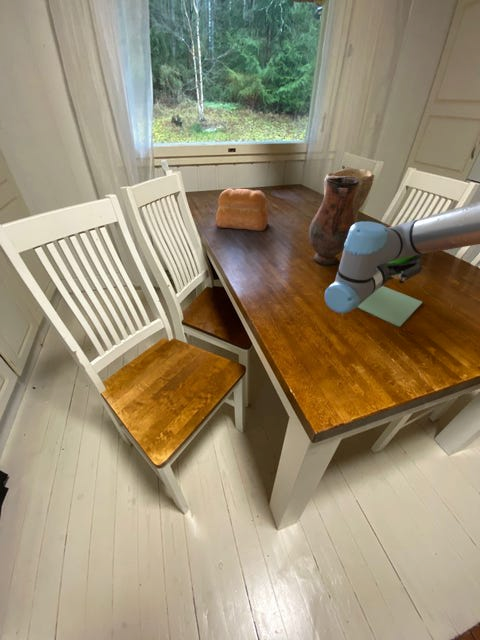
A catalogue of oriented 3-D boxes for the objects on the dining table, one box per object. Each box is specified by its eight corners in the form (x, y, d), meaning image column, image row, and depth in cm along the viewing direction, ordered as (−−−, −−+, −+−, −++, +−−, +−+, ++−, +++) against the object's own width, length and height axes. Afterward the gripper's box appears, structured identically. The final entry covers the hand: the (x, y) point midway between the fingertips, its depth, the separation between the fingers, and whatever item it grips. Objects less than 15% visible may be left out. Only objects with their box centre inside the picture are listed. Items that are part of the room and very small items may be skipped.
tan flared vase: (323, 214, 158) (332, 165, 142) (363, 220, 150) (378, 169, 134) (311, 226, 142) (321, 172, 127) (356, 234, 134) (372, 178, 118)
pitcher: (344, 252, 118) (364, 175, 99) (347, 276, 101) (373, 190, 83) (305, 248, 120) (318, 173, 102) (302, 271, 104) (317, 186, 85)
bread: (221, 218, 151) (220, 184, 140) (268, 221, 147) (271, 187, 136) (213, 228, 139) (212, 192, 128) (264, 232, 135) (267, 195, 124)
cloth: (422, 303, 88) (422, 301, 88) (399, 327, 79) (400, 326, 78) (364, 279, 100) (364, 278, 99) (338, 298, 90) (338, 297, 90)
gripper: (330, 275, 78) (367, 252, 90) (404, 307, 66) (435, 275, 78) (336, 251, 73) (374, 230, 85) (417, 280, 61) (448, 251, 74)
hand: (403, 251), depth 82 cm, fingers closed on cup, 8 cm apart
